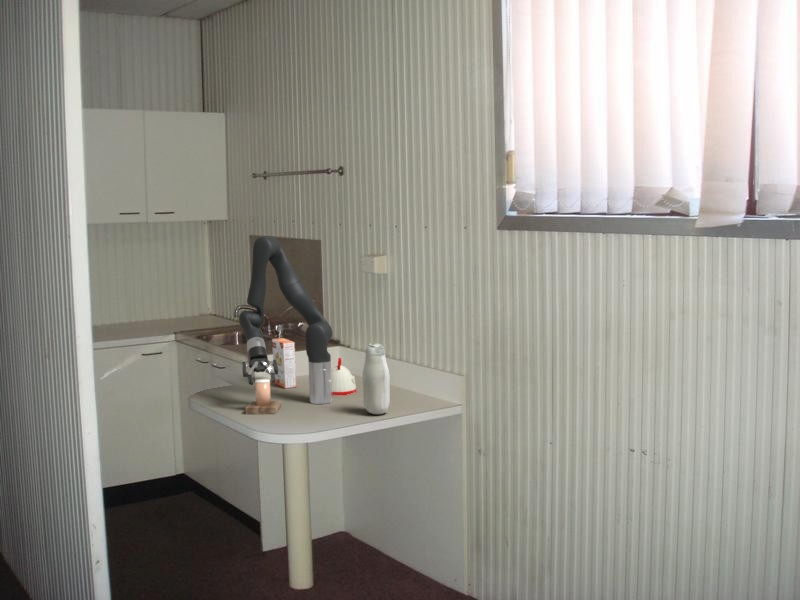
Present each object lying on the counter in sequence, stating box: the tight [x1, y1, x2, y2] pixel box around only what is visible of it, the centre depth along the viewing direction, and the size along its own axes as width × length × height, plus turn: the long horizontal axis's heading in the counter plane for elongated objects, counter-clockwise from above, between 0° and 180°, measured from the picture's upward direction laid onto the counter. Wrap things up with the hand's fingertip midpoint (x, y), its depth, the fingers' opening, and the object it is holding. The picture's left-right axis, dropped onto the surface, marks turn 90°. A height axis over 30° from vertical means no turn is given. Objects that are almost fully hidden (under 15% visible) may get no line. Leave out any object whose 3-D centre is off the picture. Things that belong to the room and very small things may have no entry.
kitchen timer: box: [331, 357, 357, 396], centre depth 402 cm, size 14×14×15 cm
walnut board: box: [245, 400, 282, 415], centre depth 370 cm, size 12×12×2 cm
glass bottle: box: [362, 342, 391, 416], centre depth 360 cm, size 10×10×28 cm
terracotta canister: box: [254, 377, 272, 406], centre depth 370 cm, size 6×6×10 cm
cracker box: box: [271, 337, 297, 390], centre depth 418 cm, size 14×6×21 cm, turn 28°
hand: (262, 383), depth 370 cm, fingers open, 8 cm apart
